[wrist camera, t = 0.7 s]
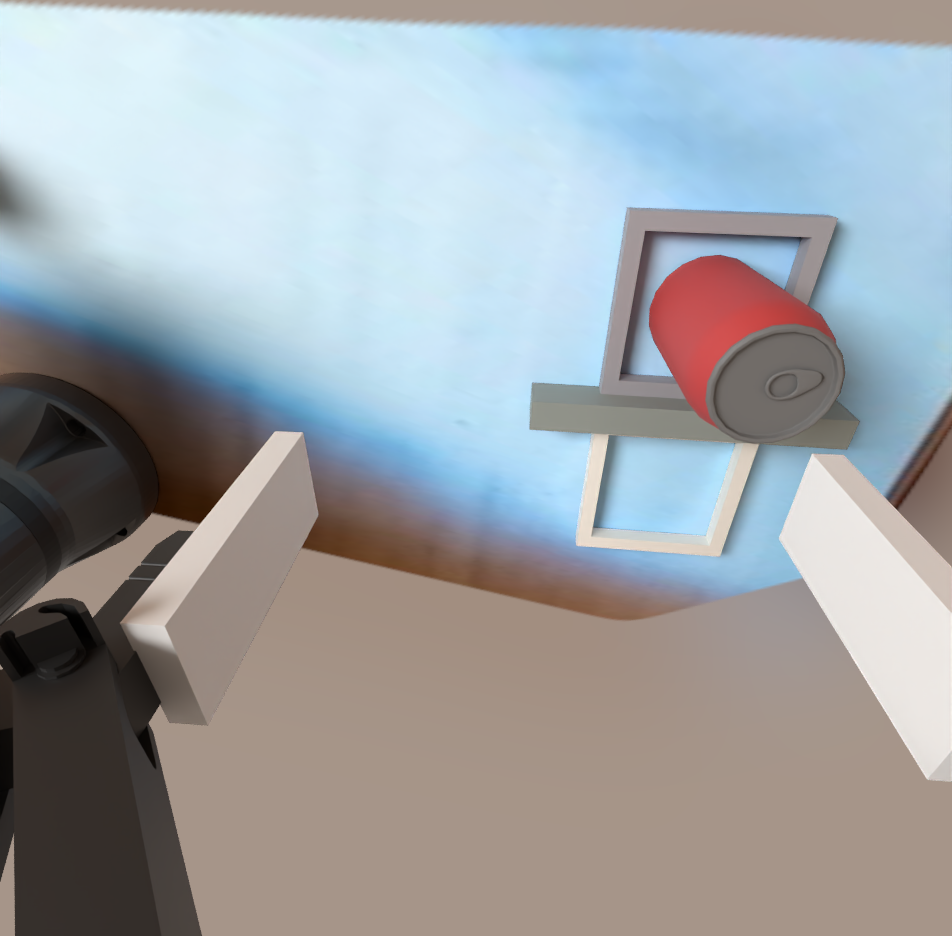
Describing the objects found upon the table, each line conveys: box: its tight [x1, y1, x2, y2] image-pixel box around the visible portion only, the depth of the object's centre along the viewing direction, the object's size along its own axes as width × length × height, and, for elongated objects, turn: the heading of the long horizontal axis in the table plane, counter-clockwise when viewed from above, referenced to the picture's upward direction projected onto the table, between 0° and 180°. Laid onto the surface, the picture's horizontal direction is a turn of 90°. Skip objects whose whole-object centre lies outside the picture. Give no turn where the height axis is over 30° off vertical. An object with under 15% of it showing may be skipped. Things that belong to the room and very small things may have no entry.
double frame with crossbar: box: [530, 208, 860, 557], centre depth 36 cm, size 20×24×3 cm
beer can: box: [649, 255, 845, 444], centre depth 28 cm, size 7×7×12 cm
